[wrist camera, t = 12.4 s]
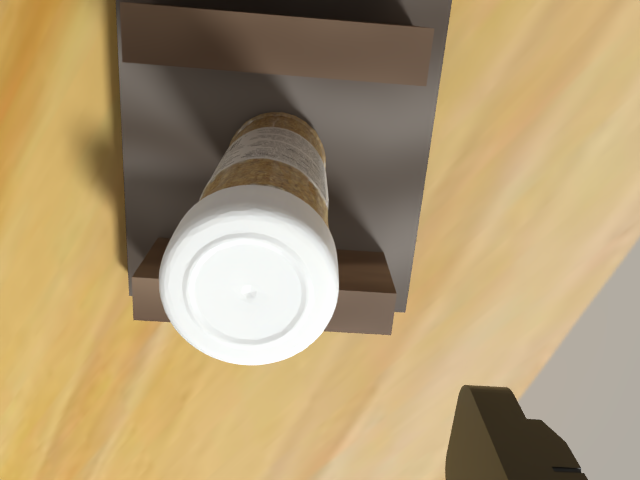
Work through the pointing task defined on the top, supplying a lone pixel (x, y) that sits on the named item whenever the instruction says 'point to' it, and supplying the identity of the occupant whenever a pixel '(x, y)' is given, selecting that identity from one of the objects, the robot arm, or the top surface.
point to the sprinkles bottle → (256, 249)
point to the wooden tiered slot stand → (293, 98)
